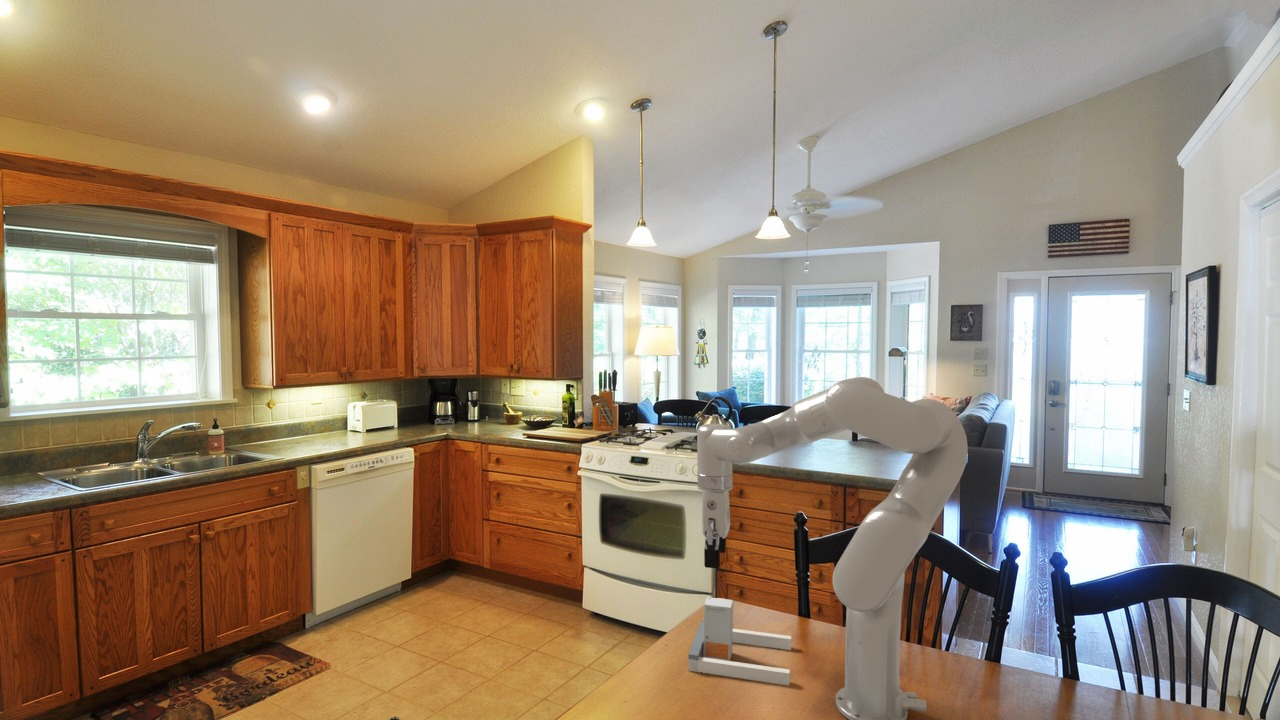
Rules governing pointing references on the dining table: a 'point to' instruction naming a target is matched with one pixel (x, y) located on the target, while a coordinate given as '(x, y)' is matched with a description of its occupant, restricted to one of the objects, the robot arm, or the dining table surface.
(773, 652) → the dining table surface
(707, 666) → the guide channel
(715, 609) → the skincare box
